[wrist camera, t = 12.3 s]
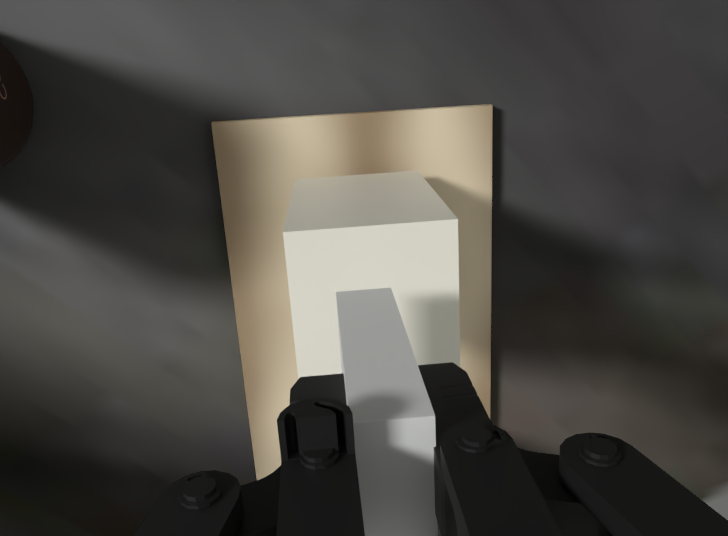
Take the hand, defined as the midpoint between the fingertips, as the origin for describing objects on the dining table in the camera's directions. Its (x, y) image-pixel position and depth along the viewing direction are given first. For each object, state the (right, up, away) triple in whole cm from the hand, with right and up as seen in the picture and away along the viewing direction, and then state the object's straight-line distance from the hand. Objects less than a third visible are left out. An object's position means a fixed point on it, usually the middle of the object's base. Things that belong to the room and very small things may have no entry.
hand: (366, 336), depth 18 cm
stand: (0, -1, +13) cm, 14 cm away
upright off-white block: (0, +3, +10) cm, 11 cm away
